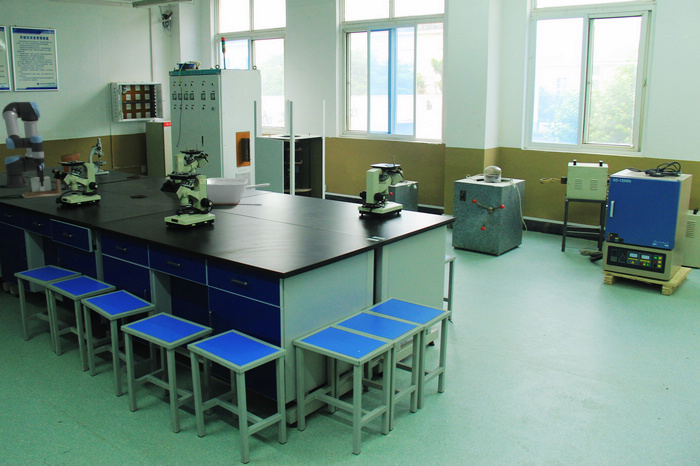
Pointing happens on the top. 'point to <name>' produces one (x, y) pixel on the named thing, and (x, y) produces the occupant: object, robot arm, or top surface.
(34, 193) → the brown l-shaped stand
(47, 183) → the door panel
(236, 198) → the pot
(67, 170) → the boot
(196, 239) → the top surface
